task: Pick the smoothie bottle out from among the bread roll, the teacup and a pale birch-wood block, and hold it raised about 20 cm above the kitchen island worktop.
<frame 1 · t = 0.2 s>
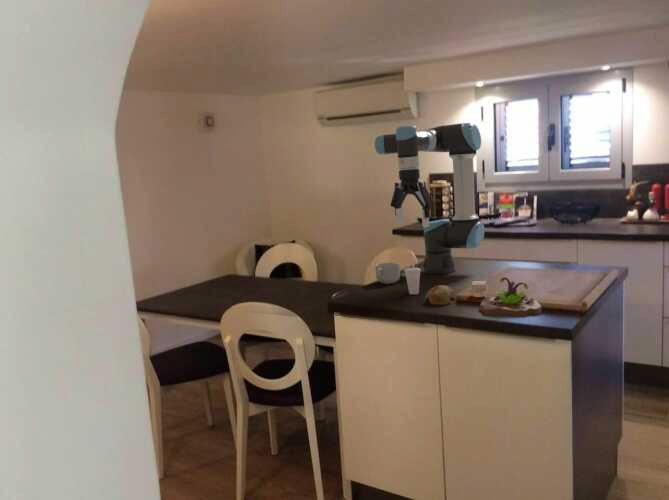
hand: (412, 226, 225), 27 cm above the worktop, fingers open, 13 cm apart
bread roll: (440, 302, 220), on the worktop
teacup: (386, 283, 259), on the worktop
birch block: (479, 296, 223), on the worktop
smoothie: (414, 293, 236), on the worktop
plant: (510, 310, 203), on the worktop
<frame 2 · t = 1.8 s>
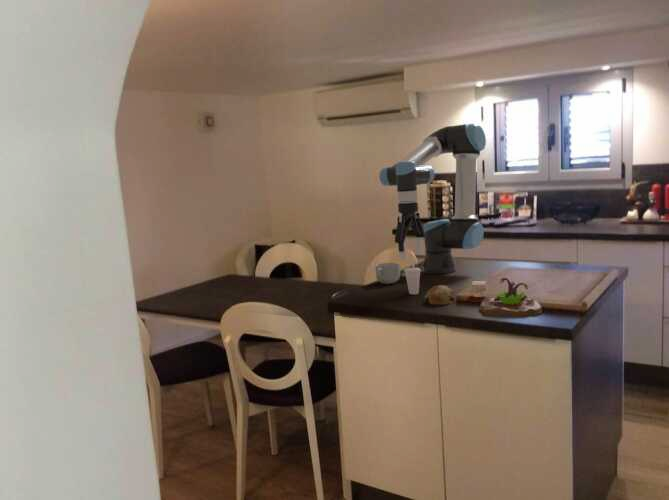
hand: (411, 256, 234), 15 cm above the worktop, fingers open, 13 cm apart
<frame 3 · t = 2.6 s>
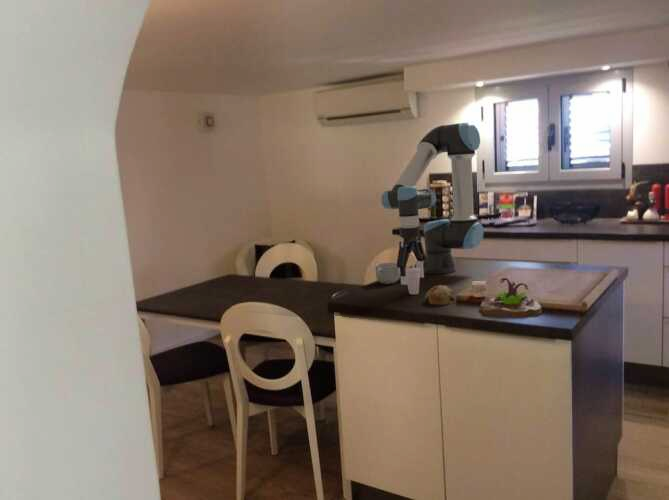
hand: (412, 280, 235), 5 cm above the worktop, fingers open, 13 cm apart
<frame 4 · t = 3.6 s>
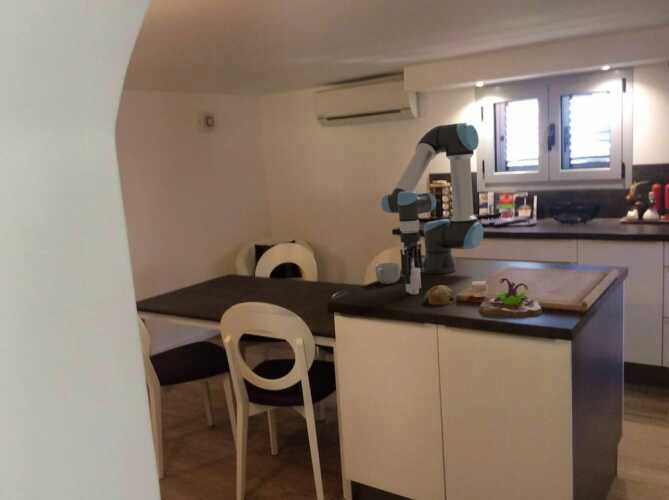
hand: (413, 289, 236), 1 cm above the worktop, fingers closed on smoothie, 6 cm apart
smoothie: (414, 293, 236), on the worktop, touching gripper
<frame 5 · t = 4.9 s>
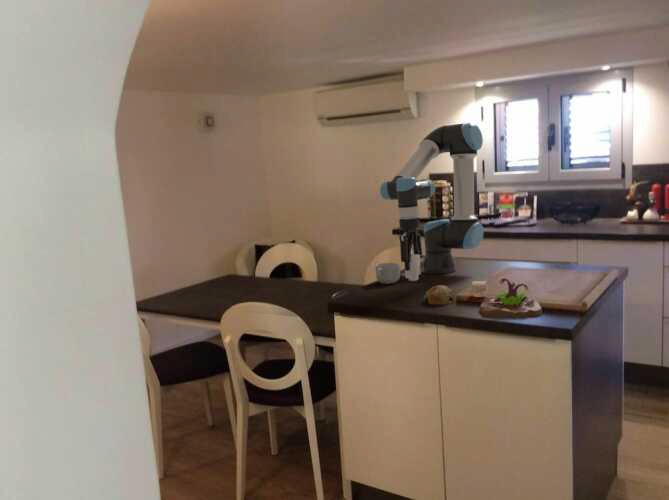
hand: (413, 276, 235), 7 cm above the worktop, fingers closed on smoothie, 6 cm apart
smoothie: (413, 280, 236), point 5 cm above the worktop, touching gripper
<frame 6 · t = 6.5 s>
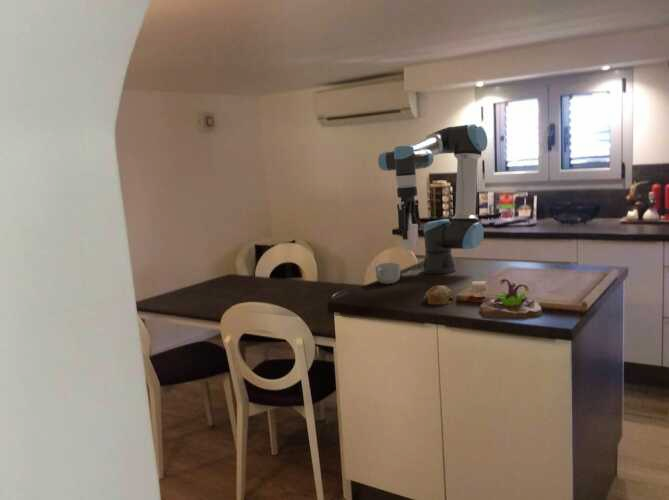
hand: (411, 245, 233), 19 cm above the worktop, fingers closed on smoothie, 6 cm apart
smoothie: (411, 250, 234), point 17 cm above the worktop, touching gripper
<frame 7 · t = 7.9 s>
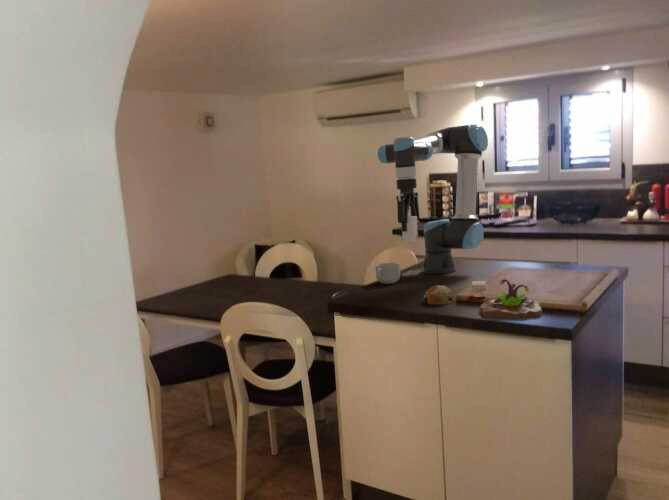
hand: (410, 238, 233), 22 cm above the worktop, fingers closed on smoothie, 6 cm apart
smoothie: (410, 242, 233), point 20 cm above the worktop, touching gripper
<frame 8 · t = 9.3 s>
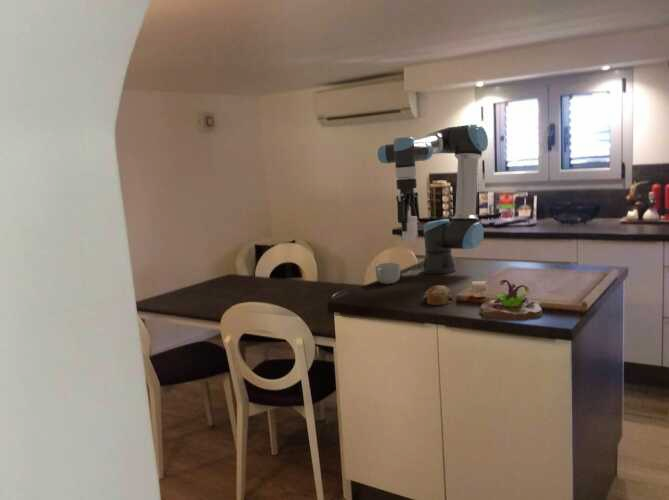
hand: (410, 238, 233), 22 cm above the worktop, fingers closed on smoothie, 6 cm apart
smoothie: (410, 242, 233), point 20 cm above the worktop, touching gripper
at the end: the gripper is holding smoothie; smoothie point 20.2 cm above the worktop; birch block moved 0.1 cm from its start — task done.
